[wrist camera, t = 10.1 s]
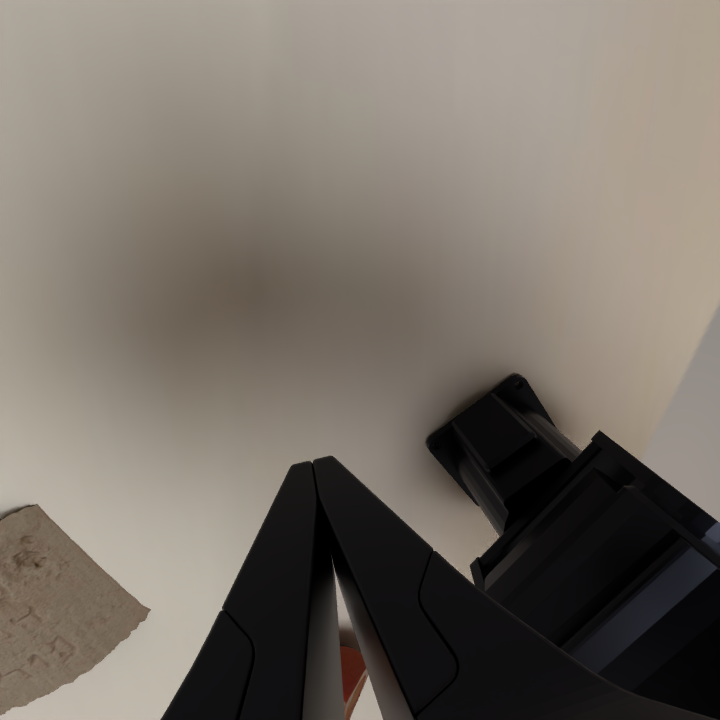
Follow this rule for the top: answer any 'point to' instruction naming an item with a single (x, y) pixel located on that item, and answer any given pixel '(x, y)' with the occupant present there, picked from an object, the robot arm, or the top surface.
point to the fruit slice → (352, 677)
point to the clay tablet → (53, 609)
